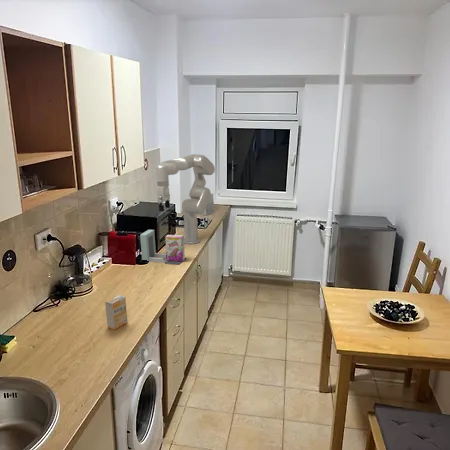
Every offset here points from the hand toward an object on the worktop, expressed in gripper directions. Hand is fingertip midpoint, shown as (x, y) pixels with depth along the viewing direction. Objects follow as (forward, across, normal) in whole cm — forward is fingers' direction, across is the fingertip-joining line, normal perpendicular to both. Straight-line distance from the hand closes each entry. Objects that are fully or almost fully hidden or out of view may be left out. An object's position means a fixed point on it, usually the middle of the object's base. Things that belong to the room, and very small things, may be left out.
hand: (164, 209), depth 272 cm
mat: (+30, +14, +12) cm, 35 cm away
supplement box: (+30, +96, +17) cm, 102 cm away
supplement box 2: (+31, -109, -11) cm, 114 cm away
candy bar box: (+30, +14, +12) cm, 35 cm away
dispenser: (+30, +14, -1) cm, 33 cm away
